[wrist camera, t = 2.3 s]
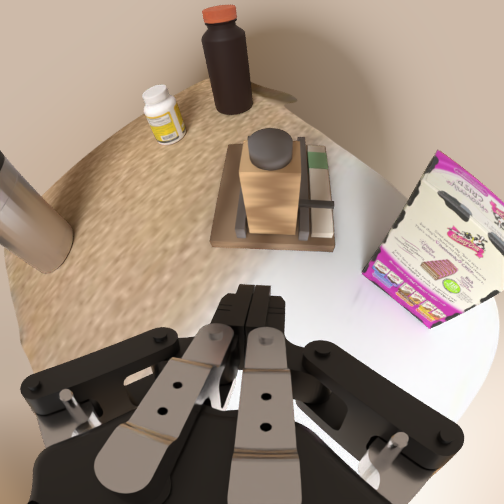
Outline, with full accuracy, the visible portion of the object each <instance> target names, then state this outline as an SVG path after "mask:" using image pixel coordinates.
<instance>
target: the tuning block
mask: <svg viewBox="0 0 504 504" xmlns="http://www.w3.org/2000/svg"><path fill="white" fill-rule="evenodd" d="M239 177H240V182H241V188H242V193H243V199H244V204H245V210H246V215H247V221H248V226H249V232H250V233H258V234H285V235H295V231H296V222H297V212H298V207H307V208H326V209H333V208H334V201H326V200H307V199H299V192H300V182H301V155H300V141H293V140H292V138H291V136H290V135H289V134H288V133H287V132H285V131H283V130H280V129H275V128H266V129H261V130H258V131H256V132H255V133H253V134H252V135H251V136H250V137H249V139H248V140H244V142H243V149H242V155H241V161H240V167H239Z"/></svg>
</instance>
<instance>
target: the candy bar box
mask: <svg viewBox="0 0 504 504" xmlns="http://www.w3.org/2000/svg"><path fill="white" fill-rule="evenodd" d="M362 274H363V275H364V276H365V277H366V278H368V279H369V280H370V281H372V282H373V283H374V284H376V285H377V286H378V287H379V288H381V289H382V290H383V291H385V292H386V293H387V294H388V295H390V296H391V297H392V298H393V299H395V300H396V301H397V302H398V303H400V304H401V305H402V306H403V307H404V308H406V309H407V310H408V311H409V312H410V313H412V314H413V315H414V316H415V317H416V318H417V319H419V320H420V321H421V322H422V323H423V324H425V325H426V326H427V327H428V328H429V329H431V328H433V327H435V326H437V325H439V324H442V323H444V322H446V321H448V320H450V319H452V318H454V317H456V316H458V315H460V314H462V313H464V312H466V311H468V310H470V309H471V308H473V307H475V306H477V305H479V304H481V303H483V302H484V301H486V300H488V299H490V298H492V297H493V296H495V295H497V294H498V293H500V292H501V291H503V290H504V203H503V202H502V201H501V200H500V199H499V198H498V197H497V196H496V195H495V194H494V193H493V192H491V191H490V190H489V189H488V188H487V187H486V186H485V185H483V184H482V183H481V182H480V181H479V180H478V179H476V178H475V177H474V176H473V175H471V174H470V173H469V172H468V171H466V170H465V169H464V168H463V167H461V166H460V165H459V164H457V163H456V162H454V161H453V160H452V159H451V158H449V157H448V156H447V155H445V154H444V153H442V152H441V151H439V150H437V151H436V153H435V155H434V156H433V158H432V159H431V161H430V163H429V164H428V166H427V168H426V170H425V171H424V173H423V175H422V177H421V178H420V180H419V182H418V184H417V185H416V187H415V189H414V191H413V192H412V194H411V196H410V198H409V200H408V201H407V203H406V205H405V207H404V208H403V210H402V212H401V213H400V215H399V217H398V218H397V220H396V221H395V223H394V224H393V226H392V228H391V229H390V231H389V232H388V234H387V236H386V237H385V239H384V240H383V242H382V243H381V245H380V246H379V248H378V249H377V251H376V252H375V254H374V255H373V257H372V258H371V260H370V261H369V263H368V264H367V265H366V267H365V268H364V270H363V271H362Z"/></svg>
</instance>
